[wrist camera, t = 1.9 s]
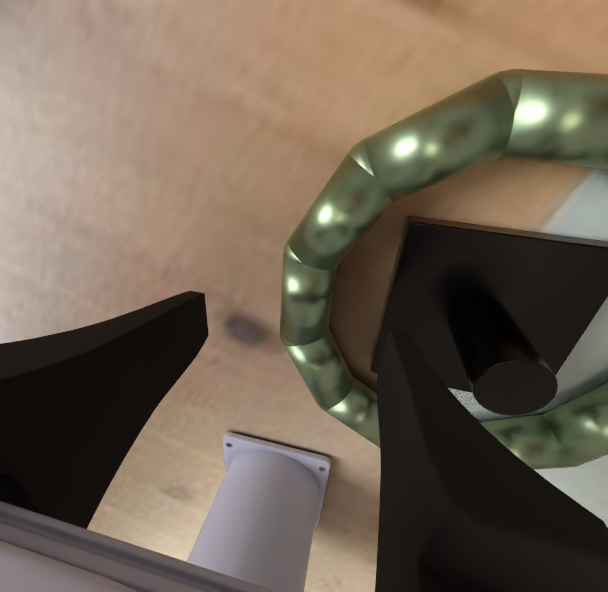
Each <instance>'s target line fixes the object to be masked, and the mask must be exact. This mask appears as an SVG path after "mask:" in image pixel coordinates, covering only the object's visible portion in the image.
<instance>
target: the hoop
mask: <svg viewBox="0 0 608 592" xmlns="http://www.w3.org/2000/svg"><path fill="white" fill-rule="evenodd" d="M497 158H498V159H508V160H518V161H529V162H539V163H549V164H559V165H570V166H580V167H590V168H600V169H608V74H594V73H577V72H559V71H542V70H524V69H512V70H506V71H501V72H498V73H496V74H494V75H491V76H489V77H487V78H485V79H483V80H481V81H479V82H477V83H475V84H473V85H471V86H469V87H467V88H465V89H463V90H461V91H459V92H457V93H455V94H453V95H451V96H449V97H447V98H445V99H443V100H441V101H439V102H437V103H435V104H433V105H431V106H429V107H427V108H425V109H423V110H421V111H419V112H417V113H415V114H413V115H411V116H409V117H407V118H405V119H403V120H401V121H399V122H398V123H396V124H394V125H392V126H390V127H388V128H386V129H384V130H382V131H380V132H378V133H376V134H374V135H372V136H370V137H368V138H366V139H364V140H362V141H360V142H359V143H357V144H356V145H355V146H354V147H353V148H352V149H351V150H350V151H349V153H348V154H347V156H346V157H345V158H344V160H343V161H342V163H341V164H340V166H339V167H338V168H337V170H336V171H335V173H334V174H333V176H332V177H331V178H330V180H329V181H328V183H327V184H326V186H325V187H324V189H323V190H322V191H321V193H320V194H319V196H318V197H317V199H316V200H315V201H314V203H313V204H312V206H311V207H310V209H309V210H308V212H307V213H306V214H305V216H304V217H303V219H302V220H301V222H300V223H299V224H298V226H297V227H296V229H295V230H294V232H293V233H292V234H291V236H290V237H289V239H288V241H287V242H286V245H285V248H284V257H283V277H282V297H281V318H280V337H281V340H282V342H283V344H284V346H285V348H286V349H287V351H288V353H289V355H290V356H291V358H292V360H293V362H294V364H295V365H296V367H297V369H298V371H299V372H300V374H301V376H302V378H303V379H304V381H305V383H306V385H307V387H308V388H309V390H310V392H311V394H312V395H313V397H314V399H315V401H316V402H317V404H318V405H319V406H320V407H321V408H322V409H323V410H324V411H326V412H327V413H329V414H330V415H332V416H333V417H335V418H336V419H338V420H339V421H341V422H342V423H344V424H345V425H347V426H348V427H349V428H351V429H352V430H354V431H355V432H357V433H358V434H360V435H361V436H363V437H364V438H366V439H367V440H369V441H370V442H372V443H373V444H375V445H376V446H378V447H379V448H380V436H379V421H378V406H377V393H376V392H374V391H373V390H371V389H370V388H369V387H367V386H366V385H364V384H363V383H361V382H360V381H359V380H357V379H356V378H354V377H353V376H352V375H351V373H350V371H349V369H348V367H347V365H346V363H345V361H344V359H343V357H342V355H341V353H340V350H339V348H338V346H337V344H336V342H335V340H334V338H333V336H332V334H331V332H330V330H329V328H328V326H329V319H330V312H331V305H332V298H333V291H334V285H335V278H336V271H337V266H338V265H339V264H340V262H341V261H342V260H343V259H344V258H345V257H346V255H347V254H348V253H349V252H350V251H351V250H352V248H353V247H354V246H355V245H356V244H357V243H358V241H359V240H360V239H361V238H362V237H363V236H364V234H365V233H366V232H367V231H368V230H369V228H370V227H371V226H372V225H373V224H374V223H375V221H376V220H377V219H378V218H379V217H380V216H381V214H382V213H383V212H384V211H385V210H386V209H387V207H388V206H389V205H390V204H391V203H392V202H393V201H394V200H396V199H399V198H401V197H403V196H406V195H408V194H411V193H413V192H416V191H418V190H421V189H423V188H426V187H428V186H431V185H433V184H435V183H438V182H440V181H443V180H445V179H448V178H450V177H453V176H455V175H458V174H460V173H463V172H465V171H467V170H470V169H472V168H475V167H477V166H480V165H482V164H485V163H487V162H490V161H492V160H495V159H497ZM479 423H481V424H482V425H483V426H484V427H485V428H486V429H487V430H488V431H489V432H490V433H491V434H492V435H493V436H494V437H496V438H497V439H498V440H499V441H500V442H501V443H502V444H503V445H504V446H505V447H507V448H508V449H509V450H510V451H511V452H512V453H514V454H515V455H516V456H517V457H518V458H520V459H521V460H522V461H523V462H524V463H526V464H527V465H528V466H529V467H531V468H532V469H548V468H564V467H575V466H579V465H581V464H584V463H587V462H589V461H592V460H594V459H597V458H600V457H602V456H605V455H607V454H608V382H607V383H605V384H603V385H601V386H599V387H597V388H595V389H593V390H591V391H589V392H587V393H585V394H583V395H581V396H579V397H577V398H575V399H573V400H571V401H569V402H567V403H565V404H563V405H561V406H559V407H557V408H555V409H553V410H551V411H549V412H547V413H545V414H542V415H534V416H526V417H517V418H509V419H500V420H492V421H484V422H479Z"/></svg>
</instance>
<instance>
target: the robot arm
mask: <svg viewBox="0 0 608 592" xmlns="http://www.w3.org/2000/svg"><path fill="white" fill-rule="evenodd" d="M207 337H208V325H207V315H206V305H205V294H204V293H199V292H194V291H188V292H184V293H181V294H178V295H176V296H173V297H170V298H167V299H165V300H162V301H160V302H157V303H154V304H152V305H149V306H147V307H144V308H141V309H139V310H136V311H133V312H130V313H127V314H124V315H121V316H119V317H116V318H113V319H110V320H107V321H103V322H100V323H97V324H93V325H90V326H86V327H82V328H79V329H75V330H71V331H66V332H62V333H57V334H52V335H48V336H43V337H38V338H33V339H28V340H22V341H16V342H10V343H3V344H0V592H304V586H305V580H306V573H307V567H308V561H309V555H310V549H311V542H312V536H313V530H314V528H317V527H318V524H319V519H320V514H321V510H322V505H323V500H324V495H325V490H326V485H327V481H328V476H329V471H330V466H331V460H330V459H329V458H328V457H326V456H323V455H319V454H315V453H311V452H307V451H303V450H299V449H295V448H291V447H287V446H283V445H279V444H275V443H272V442H268V441H264V440H260V439H256V438H252V437H248V436H244V435H240V434H236V433H232V432H227V433H225V435H224V437H223V444H224V456H225V468H226V474H225V477H224V479H223V481H222V483H221V486H220V488H219V490H218V492H217V495H216V497H215V499H214V501H213V504H212V506H211V508H210V510H209V513H208V515H207V517H206V519H205V521H204V524H203V526H202V528H201V530H200V533H199V535H198V537H197V539H196V542H195V544H194V546H193V548H192V551H191V553H190V555H189V557H188V560H187V562H185V561H182V560H179V559H176V558H173V557H170V556H167V555H164V554H161V553H158V552H154V551H151V550H148V549H145V548H142V547H139V546H136V545H133V544H130V543H127V542H124V541H121V540H118V539H115V538H112V537H109V536H106V535H102V534H99V533H96V532H93V531H90V530H87V527H88V525H89V523H90V521H91V519H92V517H93V515H94V513H95V511H96V509H97V507H98V506H99V504H100V502H101V500H102V498H103V496H104V494H105V492H106V490H107V488H108V486H109V485H110V483H111V481H112V479H113V477H114V476H115V474H116V472H117V470H118V469H119V467H120V465H121V463H122V461H123V460H124V458H125V456H126V455H127V453H128V451H129V450H130V448H131V446H132V445H133V443H134V441H135V440H136V438H137V436H138V435H139V433H140V431H141V430H142V428H143V427H144V425H145V424H146V422H147V421H148V419H149V417H150V416H151V414H152V413H153V411H154V410H155V408H156V407H157V406H158V404H159V403H160V402H161V400H162V399H163V398H164V396H165V395H166V394H167V393H168V391H169V390H170V389H171V388H172V386H173V385H174V384H175V383H176V381H177V380H178V379H179V378H180V376H181V375H182V374H183V373H184V371H185V370H186V369H187V368H188V366H189V365H190V364H191V362H192V361H193V360H194V359H195V357H196V356H197V354H198V353H199V351H200V349H201V348H202V346H203V344H204V342H205V341H206V339H207ZM377 406H378V421H379V436H380V451H381V483H380V510H379V533H378V551H377V570H376V585H375V592H608V528H607V526H606V525H605V523H604V521H602V520H601V519H599V518H598V517H597V516H595V515H594V514H592V513H591V512H590V511H588V510H587V509H586V508H584V507H583V506H581V505H580V504H579V503H577V502H576V501H574V500H573V499H572V498H570V497H569V496H568V495H566V494H565V493H563V492H562V491H561V490H559V489H558V488H556V487H555V486H554V485H552V484H551V483H550V482H548V481H547V480H546V479H544V478H543V477H542V476H541V475H539V474H538V473H537V472H536V471H534V470H533V469H532V468H531V467H529V466H528V465H527V464H526V463H524V462H523V461H522V460H521V459H520V458H518V457H517V456H516V455H515V454H514V453H512V452H511V451H510V450H509V449H508V448H507V447H505V446H504V445H503V444H502V443H501V442H500V441H499V440H498V439H497V438H496V437H494V436H493V435H492V434H491V433H490V432H489V431H488V430H487V429H486V428H485V427H484V426H483V425H482V424H481V423H479V422H478V421H477V420H476V419H475V418H474V417H473V415H472V414H471V413H470V412H469V411H468V410H467V409H466V408H465V407H464V406H463V405H462V404H461V403H460V402H459V401H458V400H457V398H456V397H455V396H454V395H453V394H452V393H451V391H450V390H449V389H448V388H447V387H446V385H445V384H444V383H443V382H442V380H441V379H440V378H439V377H438V375H437V374H436V373H435V371H434V370H433V368H432V367H431V366H430V364H429V363H428V361H427V360H426V359H425V357H424V356H423V354H422V353H421V351H420V350H419V348H418V346H417V345H416V343H415V342H414V340H413V339H412V337H411V336H410V334H409V333H408V331H406V330H401V329H396V328H389V332H388V336H387V340H386V343H385V347H384V351H383V354H382V358H381V362H380V366H379V369H378V382H377Z"/></svg>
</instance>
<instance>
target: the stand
mask: <svg viewBox="0 0 608 592" xmlns="http://www.w3.org/2000/svg"><path fill="white" fill-rule="evenodd" d="M607 296H608V242H606V241H598V240H591V239H583V238H575V237H567V236H560V235H552V234H544V233H536V232H529V231H521V230H513V229H505V228H498V227H490V226H482V225H474V224H467V223H459V222H451V221H443V220H436V219H428V218H420V217H412V216H407V217H406V219H405V223H404V227H403V231H402V235H401V239H400V243H399V247H398V251H397V256H396V260H395V264H394V268H393V272H392V276H391V280H390V284H389V288H388V292H387V296H386V300H385V304H384V308H383V312H382V317H381V321H380V325H379V329H378V333H377V337H376V341H375V345H374V349H373V353H372V357H371V372H375V373H378V369H379V366H380V362H381V358H382V354H383V351H384V347H385V343H386V340H387V336H388V332H389V328H396V329H401V330H406V331H408V333H409V334H410V336H411V337H412V339H413V340H414V342H415V343H416V345H417V346H418V348H419V350H420V351H421V353H422V354H423V356H424V357H425V359H426V360H427V361H428V363H429V364H430V366H431V367H432V368H433V370H434V371H435V373H436V374H437V375H438V377H439V378H440V379H441V380H442V382H443V383H444V384H445V385H446V387H448V388H453V389H457V390H462V391H467V392H472V393H473V395H474V397H475V399H476V400H477V402H478V403H479V404H480V405H481V406H483V407H484V408H485V409H487V410H489V411H491V412H494V413H497V414H502V415H523V414H528V413H531V412H534V411H537V410H539V409H541V408H543V407H544V406H546V405H547V404H548V403H549V402H550V401H551V400H552V399H553V398H554V396H555V394H556V392H557V387H558V386H557V379H556V377H555V375H556V374H557V372H558V371H559V369H560V368H561V366H562V365H563V363H564V362H565V360H566V359H567V357H568V356H569V354H570V353H571V351H572V349H573V348H574V346H575V345H576V343H577V342H578V340H579V339H580V337H581V336H582V334H583V333H584V331H585V330H586V328H587V327H588V325H589V324H590V322H591V321H592V319H593V318H594V316H595V315H596V313H597V312H598V310H599V309H600V307H601V306H602V304H603V303H604V301H605V300H606V298H607Z"/></svg>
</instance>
